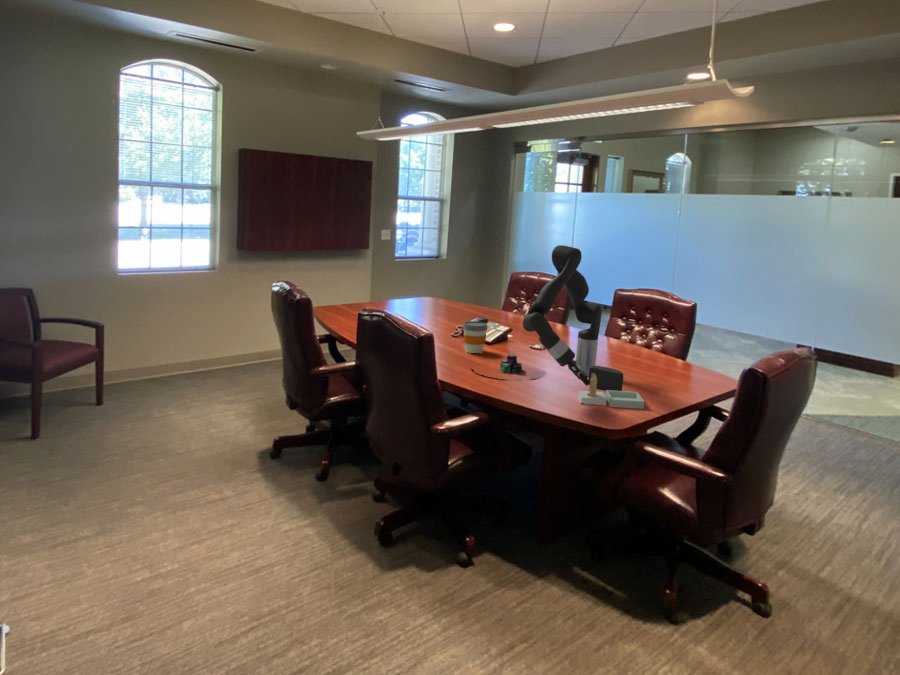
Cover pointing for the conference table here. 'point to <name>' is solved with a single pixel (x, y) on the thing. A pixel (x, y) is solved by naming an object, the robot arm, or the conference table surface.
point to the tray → (624, 399)
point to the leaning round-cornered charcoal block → (607, 378)
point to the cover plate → (592, 398)
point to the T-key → (593, 385)
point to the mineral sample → (511, 365)
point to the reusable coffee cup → (474, 336)
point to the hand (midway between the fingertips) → (587, 381)
